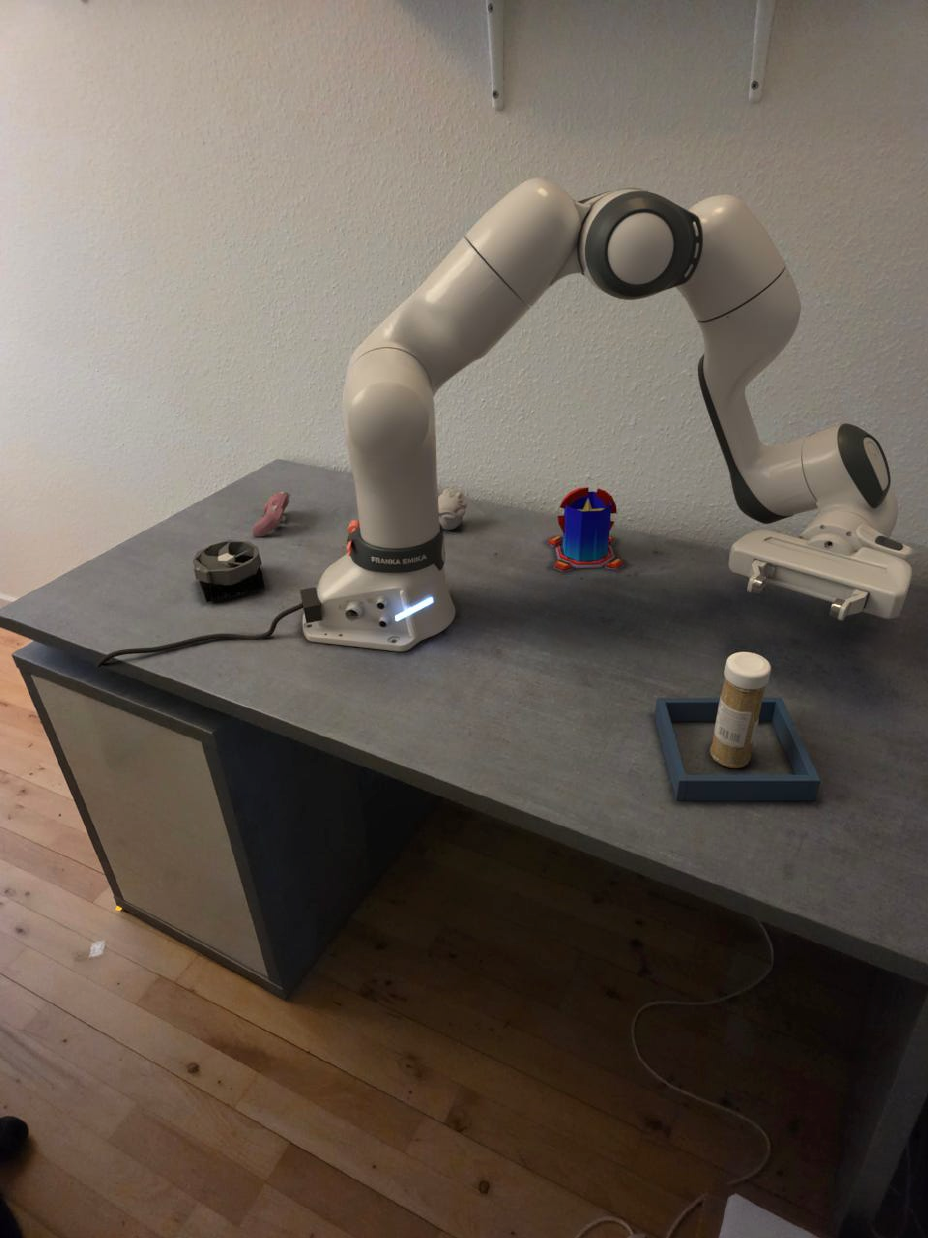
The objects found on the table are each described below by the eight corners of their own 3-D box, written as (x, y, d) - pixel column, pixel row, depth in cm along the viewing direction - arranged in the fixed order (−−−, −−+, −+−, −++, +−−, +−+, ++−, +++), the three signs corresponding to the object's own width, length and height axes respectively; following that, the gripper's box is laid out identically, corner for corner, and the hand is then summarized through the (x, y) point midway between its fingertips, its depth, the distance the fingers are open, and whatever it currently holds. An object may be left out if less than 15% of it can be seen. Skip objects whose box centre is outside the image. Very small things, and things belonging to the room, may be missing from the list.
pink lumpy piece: (274, 545, 140) (286, 513, 137) (249, 535, 139) (261, 502, 136) (285, 520, 149) (297, 489, 145) (262, 510, 147) (273, 479, 144)
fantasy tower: (613, 535, 136) (619, 470, 129) (627, 570, 126) (633, 501, 120) (545, 538, 136) (547, 473, 129) (553, 573, 126) (555, 504, 120)
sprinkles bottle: (758, 759, 90) (781, 665, 83) (731, 775, 88) (752, 681, 81) (727, 737, 94) (746, 645, 86) (700, 752, 91) (717, 659, 84)
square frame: (675, 800, 86) (679, 780, 84) (654, 716, 97) (656, 697, 95) (814, 800, 85) (820, 780, 83) (776, 716, 96) (781, 697, 95)
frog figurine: (475, 525, 141) (474, 489, 137) (449, 540, 137) (447, 503, 133) (449, 516, 144) (448, 480, 141) (423, 530, 140) (421, 494, 136)
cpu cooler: (251, 533, 129) (265, 561, 121) (257, 564, 132) (271, 592, 124) (186, 547, 125) (196, 577, 118) (194, 578, 128) (204, 609, 121)
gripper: (756, 508, 103) (711, 551, 94) (928, 552, 92) (895, 604, 83) (748, 551, 106) (704, 595, 98) (913, 598, 95) (880, 653, 87)
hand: (794, 600), depth 90 cm, fingers open, 8 cm apart
